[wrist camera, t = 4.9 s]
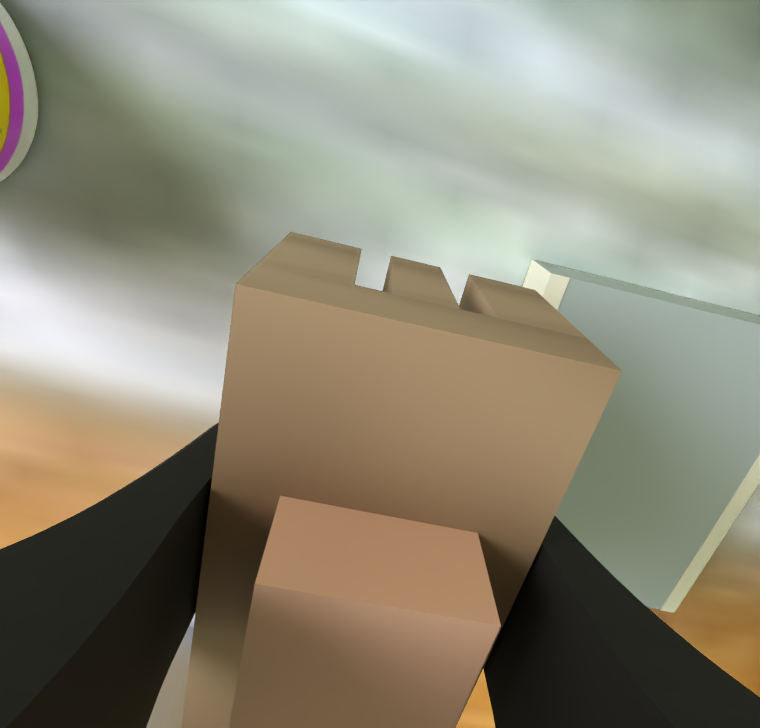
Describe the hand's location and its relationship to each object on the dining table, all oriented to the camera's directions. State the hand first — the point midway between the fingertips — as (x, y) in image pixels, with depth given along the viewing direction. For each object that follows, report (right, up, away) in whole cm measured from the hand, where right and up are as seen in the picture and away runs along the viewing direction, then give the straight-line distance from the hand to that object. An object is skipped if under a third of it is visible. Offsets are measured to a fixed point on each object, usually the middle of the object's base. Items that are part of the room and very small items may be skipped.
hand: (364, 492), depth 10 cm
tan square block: (0, -1, -2) cm, 3 cm away
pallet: (0, +1, +1) cm, 2 cm away
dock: (+9, 0, +9) cm, 13 cm away
